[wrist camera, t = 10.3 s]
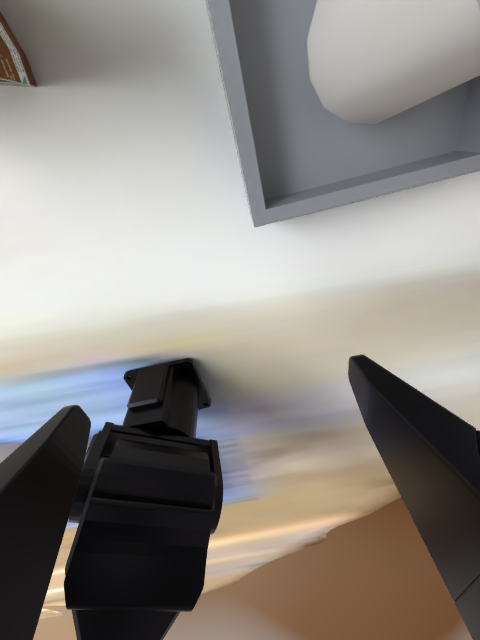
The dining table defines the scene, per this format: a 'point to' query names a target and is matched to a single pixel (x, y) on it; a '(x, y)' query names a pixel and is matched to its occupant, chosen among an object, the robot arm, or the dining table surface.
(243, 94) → the bin
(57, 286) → the dining table surface
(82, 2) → the dining table surface
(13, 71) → the food container
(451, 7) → the salt shaker
